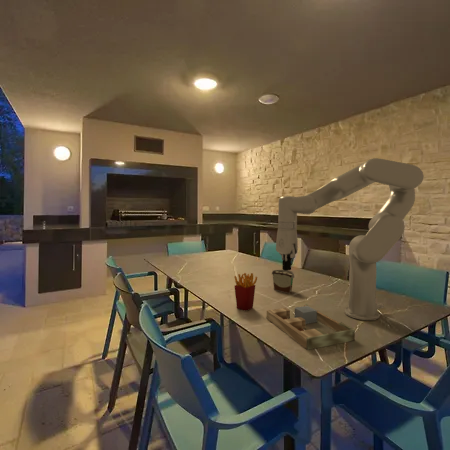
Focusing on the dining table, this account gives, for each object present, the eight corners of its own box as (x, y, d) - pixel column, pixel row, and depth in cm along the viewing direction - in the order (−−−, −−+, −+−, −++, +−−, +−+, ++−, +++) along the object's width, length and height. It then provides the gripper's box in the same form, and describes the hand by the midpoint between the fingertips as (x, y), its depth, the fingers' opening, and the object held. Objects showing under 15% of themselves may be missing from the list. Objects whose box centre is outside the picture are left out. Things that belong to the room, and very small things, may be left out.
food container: (298, 291, 144) (299, 272, 143) (292, 294, 139) (292, 274, 139) (278, 286, 152) (278, 268, 151) (271, 289, 148) (271, 270, 147)
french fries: (246, 312, 116) (246, 276, 115) (231, 307, 121) (230, 273, 120) (258, 306, 122) (258, 272, 121) (243, 302, 128) (243, 269, 127)
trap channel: (305, 312, 116) (306, 303, 116) (354, 340, 91) (354, 329, 91) (266, 318, 110) (266, 308, 110) (307, 349, 85) (307, 338, 85)
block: (307, 317, 111) (307, 305, 111) (316, 322, 106) (316, 310, 106) (294, 319, 109) (294, 307, 109) (303, 324, 104) (303, 312, 104)
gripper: (270, 225, 123) (270, 266, 124) (289, 227, 109) (288, 274, 110) (285, 224, 126) (284, 265, 127) (306, 227, 112) (305, 273, 113)
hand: (286, 269), depth 119 cm, fingers closed
